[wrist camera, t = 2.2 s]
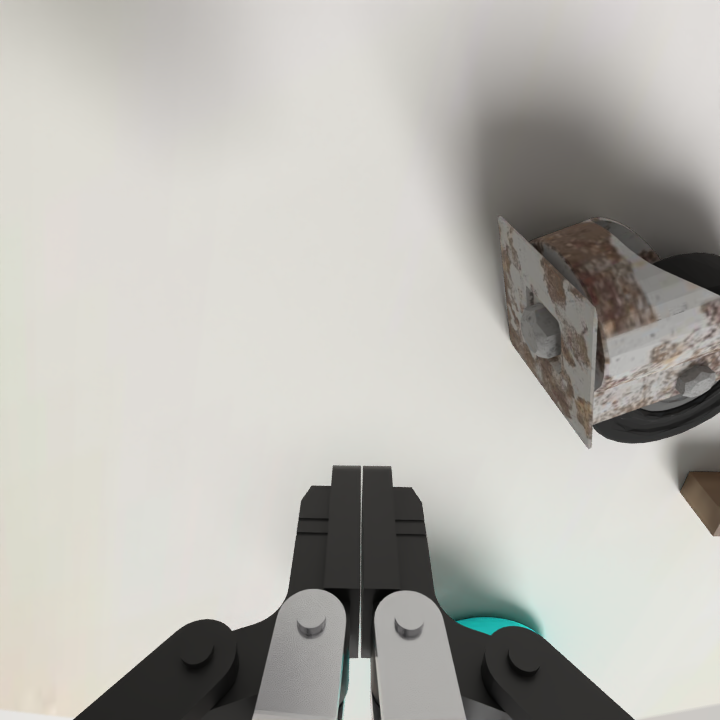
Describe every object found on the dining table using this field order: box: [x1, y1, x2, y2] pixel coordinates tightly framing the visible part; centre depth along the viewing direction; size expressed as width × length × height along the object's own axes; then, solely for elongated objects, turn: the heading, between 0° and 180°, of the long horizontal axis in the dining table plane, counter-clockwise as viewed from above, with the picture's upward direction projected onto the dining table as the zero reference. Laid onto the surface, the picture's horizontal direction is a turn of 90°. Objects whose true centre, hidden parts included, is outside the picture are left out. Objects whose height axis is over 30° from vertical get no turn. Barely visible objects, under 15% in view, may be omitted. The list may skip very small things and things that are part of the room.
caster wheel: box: [498, 216, 720, 449], centre depth 20 cm, size 7×11×10 cm
